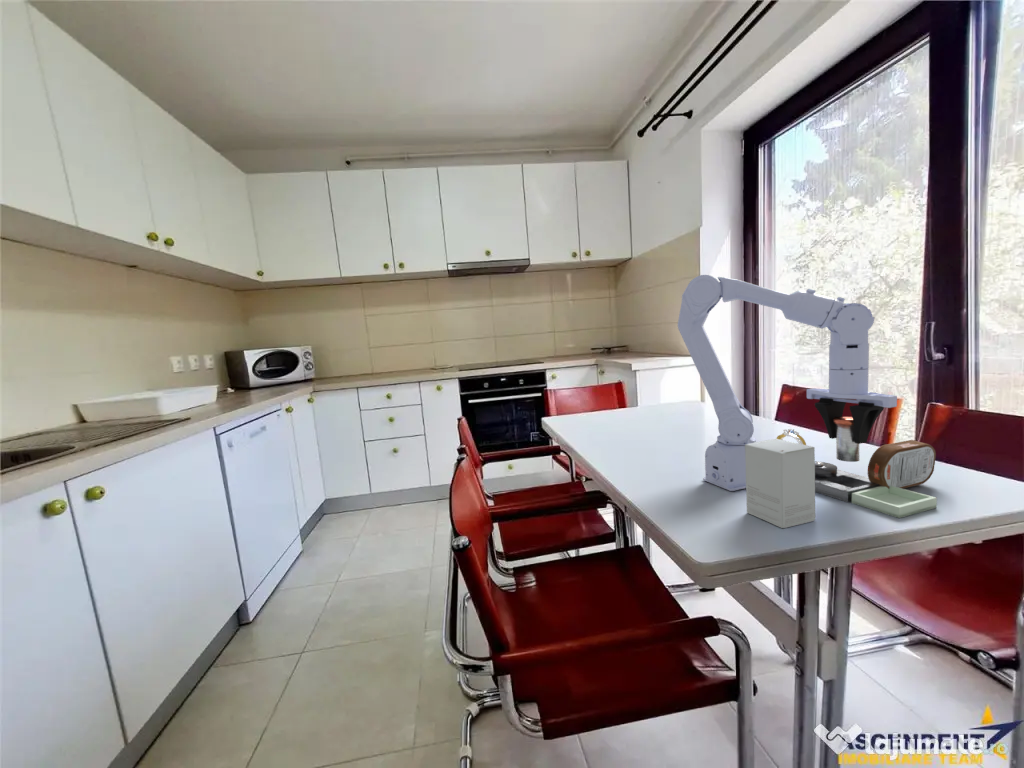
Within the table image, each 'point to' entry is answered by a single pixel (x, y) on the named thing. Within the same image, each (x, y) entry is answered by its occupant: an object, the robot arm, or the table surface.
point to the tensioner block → (839, 482)
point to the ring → (792, 434)
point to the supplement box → (780, 482)
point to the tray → (894, 501)
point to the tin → (902, 464)
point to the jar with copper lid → (846, 440)
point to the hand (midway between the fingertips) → (847, 440)
